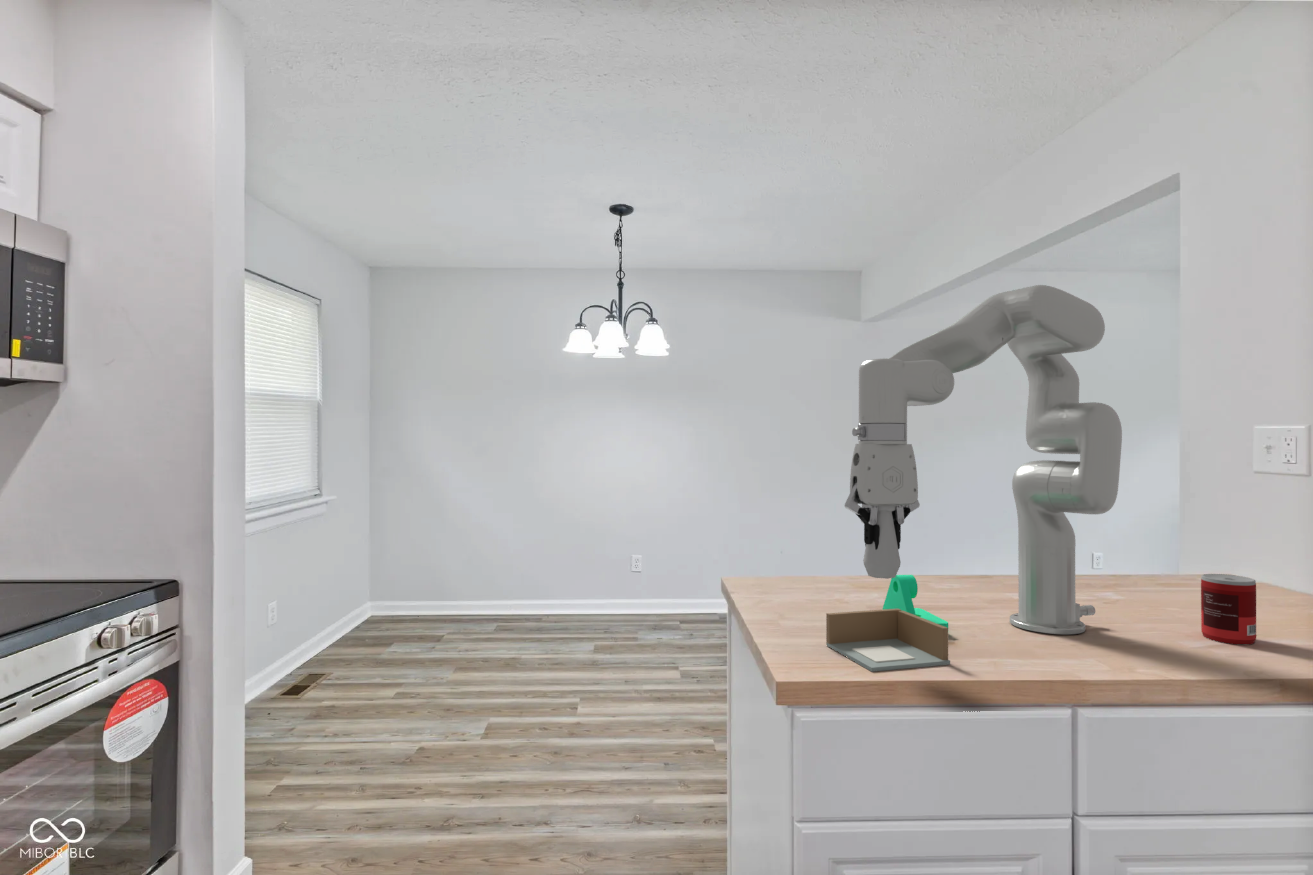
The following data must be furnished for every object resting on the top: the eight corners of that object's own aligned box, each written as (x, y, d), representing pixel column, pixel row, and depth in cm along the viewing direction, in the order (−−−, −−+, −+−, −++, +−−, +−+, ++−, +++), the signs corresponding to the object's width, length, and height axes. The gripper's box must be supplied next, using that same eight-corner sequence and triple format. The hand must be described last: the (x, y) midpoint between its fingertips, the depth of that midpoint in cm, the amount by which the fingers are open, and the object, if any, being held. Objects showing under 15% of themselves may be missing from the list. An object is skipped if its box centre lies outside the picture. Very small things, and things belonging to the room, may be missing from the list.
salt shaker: (900, 580, 109) (900, 497, 109) (862, 578, 111) (862, 496, 111) (900, 574, 115) (900, 495, 115) (864, 572, 117) (864, 494, 117)
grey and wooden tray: (897, 640, 123) (897, 608, 123) (950, 664, 110) (950, 628, 110) (826, 645, 120) (826, 613, 120) (871, 671, 106) (871, 634, 106)
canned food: (1247, 635, 127) (1247, 575, 127) (1263, 647, 119) (1263, 583, 120) (1195, 631, 130) (1195, 572, 130) (1208, 642, 123) (1208, 579, 123)
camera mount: (950, 637, 126) (950, 580, 126) (909, 638, 125) (909, 581, 125) (919, 621, 138) (919, 568, 138) (882, 621, 137) (882, 569, 137)
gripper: (849, 434, 108) (849, 553, 107) (940, 435, 112) (940, 550, 112) (825, 435, 115) (825, 546, 115) (912, 436, 119) (912, 543, 119)
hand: (882, 547), depth 113 cm, fingers closed on salt shaker, 3 cm apart
